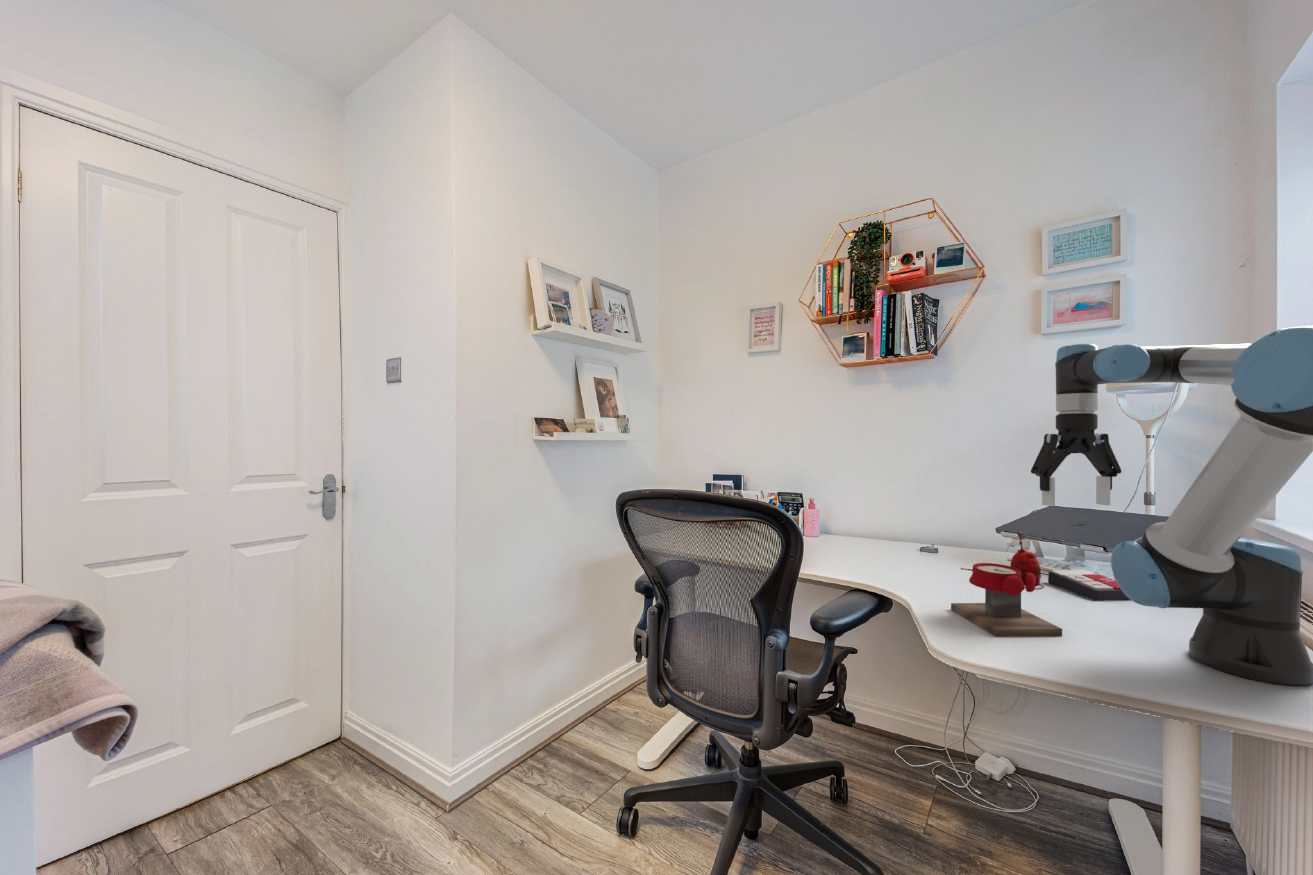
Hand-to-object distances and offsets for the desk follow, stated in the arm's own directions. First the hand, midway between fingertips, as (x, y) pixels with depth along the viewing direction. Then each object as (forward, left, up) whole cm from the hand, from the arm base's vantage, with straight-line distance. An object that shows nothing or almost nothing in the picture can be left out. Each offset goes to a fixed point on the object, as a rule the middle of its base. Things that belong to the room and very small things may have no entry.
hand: (1075, 505), depth 120 cm
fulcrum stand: (-4, +19, -25) cm, 32 cm away
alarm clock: (-4, +19, -18) cm, 27 cm away
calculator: (+17, -18, -26) cm, 36 cm away
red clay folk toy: (+25, -7, -26) cm, 36 cm away
